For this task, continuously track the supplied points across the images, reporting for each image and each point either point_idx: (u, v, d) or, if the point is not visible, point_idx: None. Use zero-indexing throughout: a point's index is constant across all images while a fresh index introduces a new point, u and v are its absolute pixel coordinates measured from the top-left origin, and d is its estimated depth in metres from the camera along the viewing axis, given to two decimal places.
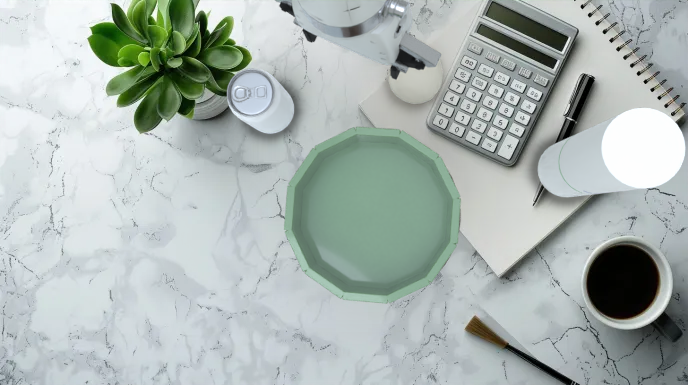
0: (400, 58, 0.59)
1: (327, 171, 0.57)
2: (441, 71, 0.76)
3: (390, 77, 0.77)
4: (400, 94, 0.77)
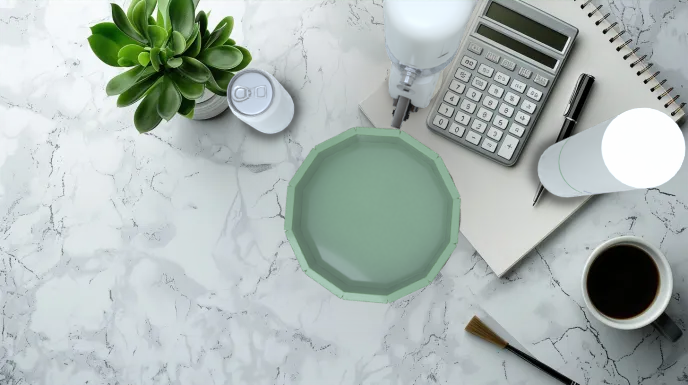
0: None
1: (327, 171, 0.57)
2: (441, 71, 0.76)
3: None
4: None
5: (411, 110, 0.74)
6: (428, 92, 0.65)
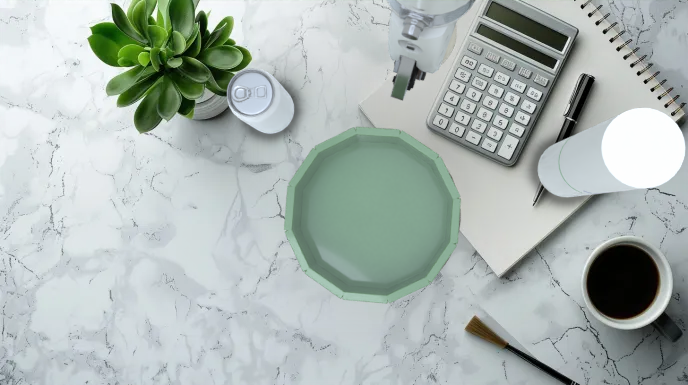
0: None
1: (327, 171, 0.57)
2: (454, 28, 0.61)
3: None
4: None
5: (417, 77, 0.58)
6: (439, 50, 0.49)
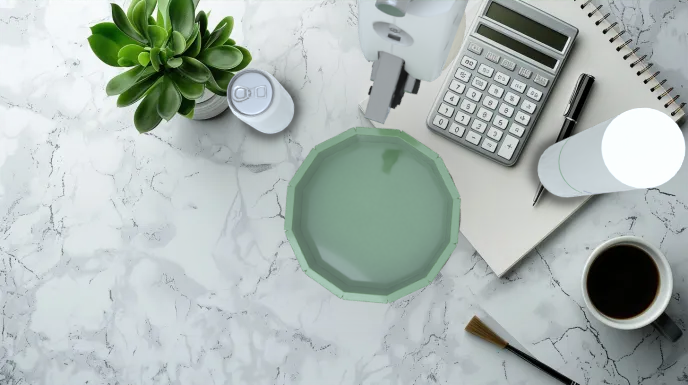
0: None
1: (327, 171, 0.57)
2: (463, 16, 0.40)
3: None
4: None
5: (406, 88, 0.38)
6: (443, 39, 0.29)
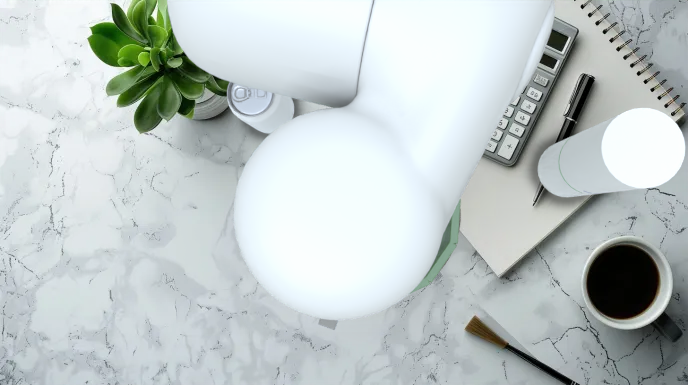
0: None
1: None
2: None
3: None
4: None
5: None
6: None
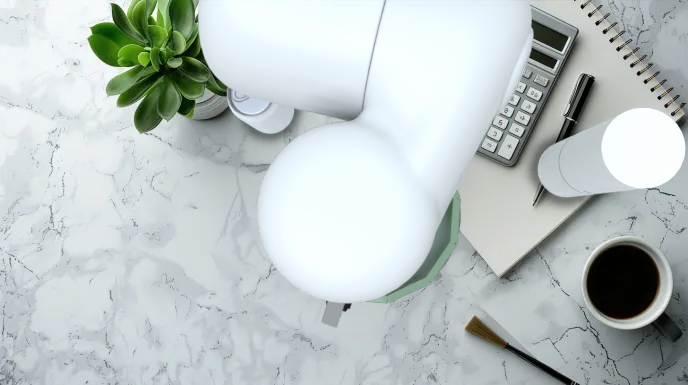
0: None
1: None
2: None
3: None
4: None
5: None
6: None
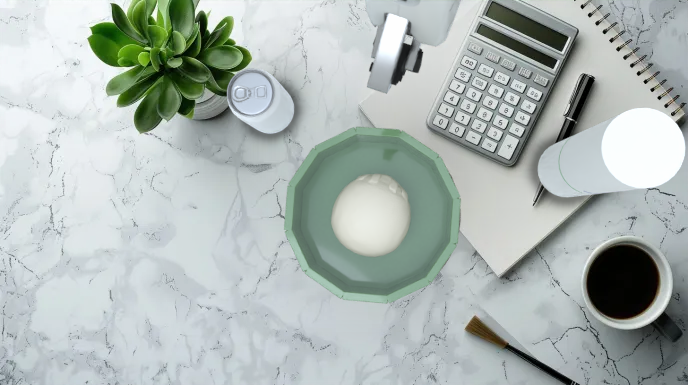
0: None
1: (327, 171, 0.57)
2: (407, 213, 0.52)
3: (332, 221, 0.52)
4: (347, 246, 0.52)
5: (408, 63, 0.38)
6: None
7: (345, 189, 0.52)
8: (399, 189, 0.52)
